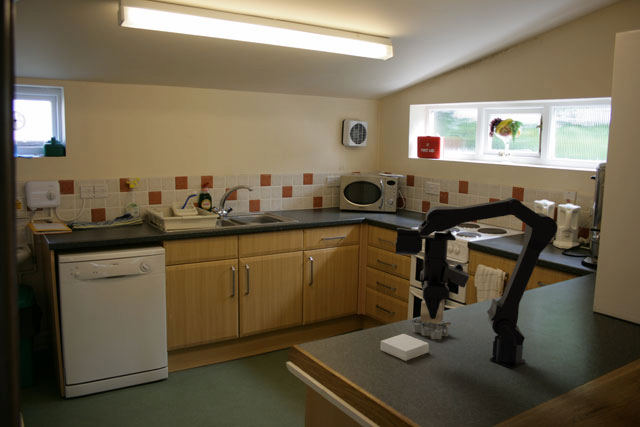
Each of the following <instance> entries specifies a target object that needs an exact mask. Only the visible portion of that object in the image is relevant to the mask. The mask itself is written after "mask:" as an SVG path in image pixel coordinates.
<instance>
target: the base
mask: <svg viewBox="0 0 640 427" xmlns="http://www.w3.org/2000/svg"><path fill="white" fill-rule="evenodd" d="M380 351H382V352H384V353H387V354H389V355H391V356H393V357H396V358H397V359H398V358H399V359H401V360H403V361H409V360H411V359H414V358H417V357H419V356H423V355H424V354H427V353H429V343H428V342H426V341H423V340H421V339H419V338H416V337H413V336H410V335H408V334H406V333H401V334H398V335H395V336H392V337H389V338H385V339H383V340H380Z"/></svg>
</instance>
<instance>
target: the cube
mask: <svg viewBox="0 0 640 427" xmlns="http://www.w3.org/2000/svg"><path fill="white" fill-rule="evenodd" d="M420 305H421V307H420V319H421V320H420V321H423V322H430V323H437V324H440V323H441V322H442V321H444V317H445V316H444V315H445V313H444V312H445V299H443V300H442V301H441V302H440V305H439V308H438V311H437V314H436V318H435V319H431V318H430V315H429V312H428V309H427V306H426V303H425V300H424V299H422V301H421V304H420Z"/></svg>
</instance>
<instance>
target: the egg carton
mask: <svg viewBox="0 0 640 427" xmlns="http://www.w3.org/2000/svg"><path fill="white" fill-rule="evenodd" d="M420 320H421V317H418V318H413V319H410V322H411V332H412V333H419V334H421V336H424V337H425V336H426V337H427V336H428V337H430V339H432V340H441V339H442V337H449V327H450V326H451V321H446V320H442V321H441V323H440V324H437V323H430V322H423V321H420Z"/></svg>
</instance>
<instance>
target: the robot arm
mask: <svg viewBox="0 0 640 427" xmlns="http://www.w3.org/2000/svg"><path fill="white" fill-rule="evenodd" d="M507 216H514V217H515V218H517V219H518V220H520V221H521V222H523V223H524V224H525V229H524V233H523V234H524V235H523V245H522V249H521V250H520V253H519V255H518V258H517V260H516V263H515V265H514V267H513V270H512V271H511V272H512V273H511V275H510V278H509V280H508V282H507V285H506V287H505V290H504V292H503V294H502V295H501V297H500V298H499V299H498V300H497V299H495V298H492V299H491V305H490V307H489V309H488V310H487V311H486V313H487V315H488V317H487V319H488V322H489V324H490V326H491V328H492V331H493V332H494V333H495V336H494V340H493V341H492V352H491V353H492V357H490V358H489V360H490V361H491V362H494V363H495V364H500V365H502V366H505V367H506V368H507V367H508V368H509V369H513V368H516V367H517V366H520V365H522V364H524V363H525V362H526V360H525V359H523V348H524V341H525V339H526V338H525V336H524V333H522V331H521V329H520V327H519V326H518V321H519V320H518V319H519V313H520V312H519V311H520V303H521V300H522V298H523V295H524V294H525V292H526V289H527V286H528V284H529V281H530V279H531V277H532V274H533V272H534V269H535V268H536V265H537V263H538V260H539V258H540V255H541V253H542V252H543V251H544V250H545V249H546V248H547V247H548V246H549V245H550V243H551V242H552V241H553V239H554V237H555V236H556V234H557V232H558V225H557V224H558V223H557V222H556V220H555V219H554V218H552V217H551V216H549V215H547V214H545V213H542V212H535V211H534V210H532V209H531V208H530V207H529V206H527V205H525V204H523V203H522V201H520V200H519V199H517V198H515V197H508V198H506V199H500V200H494V201H489V202H488V201H487V202H484V203H483V202H482V203H478V204H472V205H471V204H470V205H465V206H451V205H450V206H448V205H447V206H445V205H444V206H442V205H441V206H433V207H431V208H429V209H428V211H427V212H426V214H425V219H424V220H423V222H422V223H421V224H420V225H419V226H418V228H416V229H415V228H404V227H398V228H397V231H396V232H397V233H396V239H395V255H401V256H402V255H406V256H418V254H420V253H422V251H423V240H424V253H423V259H422V260H423V267H422V268H423V269H422V270H421V271H420V278H419V279H420V281H421V282H420V286H421V289H422V297H423V300H425V303H426V306H427V309H428V312H429V315H430V318H431V319H435V318H436V314H437V311H438V308H439V305H440V302H441V301H442V300H445V299H450V289H449V286H448V285H447V284H448V283H449V282H450V283H454V285H455V284H456V285H458V286H459V287H461V288H463V289H464V288H465V287H466V285H467V283H468V281H469V278H470V275H469V273H468V272H466V271H465V270H463V269H464V268H463V265H462V264H460V263H456V264H454V265H450V264H449V263H448V259H447V258H448V244H449V243H448V242H449V241H451V242H452V241H456V240H457V238H456V236H455V235H454V234H453V233H452V232H451V230H450V229H452V228H455V227H458V226H460V225H463V224H465V223H469V222H475V221H482V220H489V219H495V218H499V217H507Z"/></svg>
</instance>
